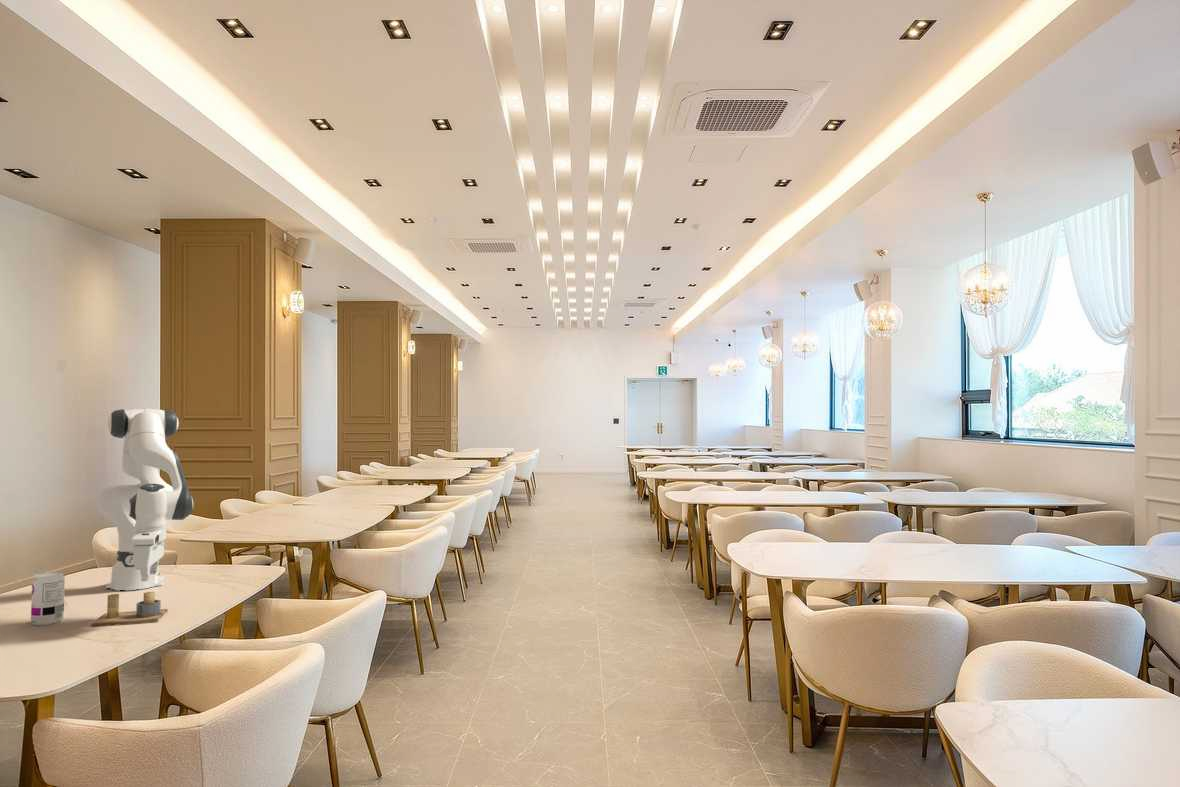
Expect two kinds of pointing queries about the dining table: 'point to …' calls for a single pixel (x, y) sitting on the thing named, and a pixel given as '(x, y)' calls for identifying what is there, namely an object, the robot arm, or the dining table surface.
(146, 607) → the ring
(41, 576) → the supplement can
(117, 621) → the post board
